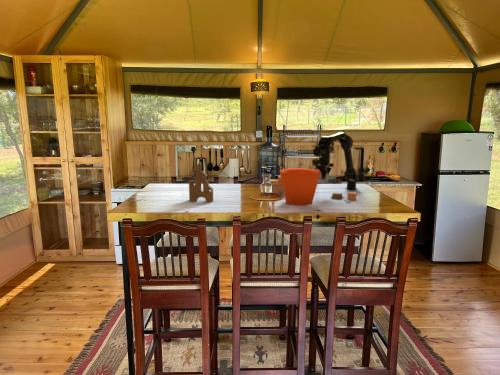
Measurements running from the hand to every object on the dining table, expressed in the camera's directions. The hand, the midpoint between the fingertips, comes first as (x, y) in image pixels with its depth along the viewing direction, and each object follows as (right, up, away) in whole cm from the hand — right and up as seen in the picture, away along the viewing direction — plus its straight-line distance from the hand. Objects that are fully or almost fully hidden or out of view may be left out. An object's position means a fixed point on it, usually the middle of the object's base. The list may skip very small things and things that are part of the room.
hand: (324, 178), depth 235 cm
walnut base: (+8, -13, -3) cm, 15 cm away
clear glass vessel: (-29, -10, +12) cm, 33 cm away
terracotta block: (+16, -14, -7) cm, 22 cm away
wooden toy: (-81, -15, -14) cm, 83 cm away
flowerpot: (-19, -16, -17) cm, 30 cm away
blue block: (0, -1, 0) cm, 1 cm away
